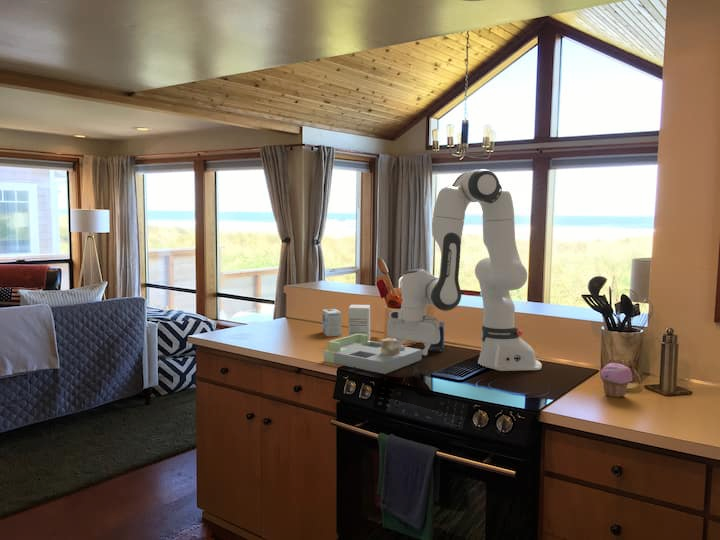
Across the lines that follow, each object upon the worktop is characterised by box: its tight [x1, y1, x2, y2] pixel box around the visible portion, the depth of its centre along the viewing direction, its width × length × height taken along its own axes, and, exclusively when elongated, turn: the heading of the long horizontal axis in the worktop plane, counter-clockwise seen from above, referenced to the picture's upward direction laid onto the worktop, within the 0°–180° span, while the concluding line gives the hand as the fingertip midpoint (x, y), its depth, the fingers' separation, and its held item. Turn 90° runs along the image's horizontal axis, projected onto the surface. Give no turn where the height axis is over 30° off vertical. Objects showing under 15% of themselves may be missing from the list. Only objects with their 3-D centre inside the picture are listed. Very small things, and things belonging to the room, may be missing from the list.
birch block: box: [380, 337, 400, 356], centre depth 210 cm, size 5×5×5 cm
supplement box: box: [348, 304, 371, 341], centre depth 250 cm, size 9×9×15 cm
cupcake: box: [599, 362, 633, 398], centre depth 174 cm, size 9×9×10 cm
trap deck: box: [323, 334, 423, 375], centre depth 215 cm, size 28×24×7 cm
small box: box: [428, 321, 446, 353], centre depth 234 cm, size 11×6×10 cm, turn 168°
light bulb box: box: [321, 308, 343, 337], centre depth 263 cm, size 11×7×11 cm, turn 17°
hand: (413, 352), depth 204 cm, fingers open, 8 cm apart
